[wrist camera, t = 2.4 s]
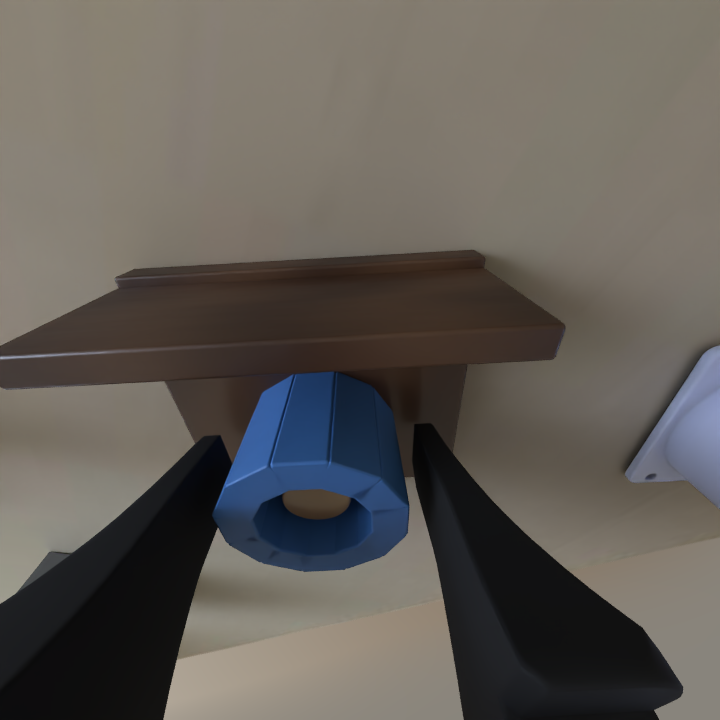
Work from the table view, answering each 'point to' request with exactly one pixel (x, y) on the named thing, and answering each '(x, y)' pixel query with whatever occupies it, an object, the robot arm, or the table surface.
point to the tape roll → (316, 476)
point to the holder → (293, 340)
